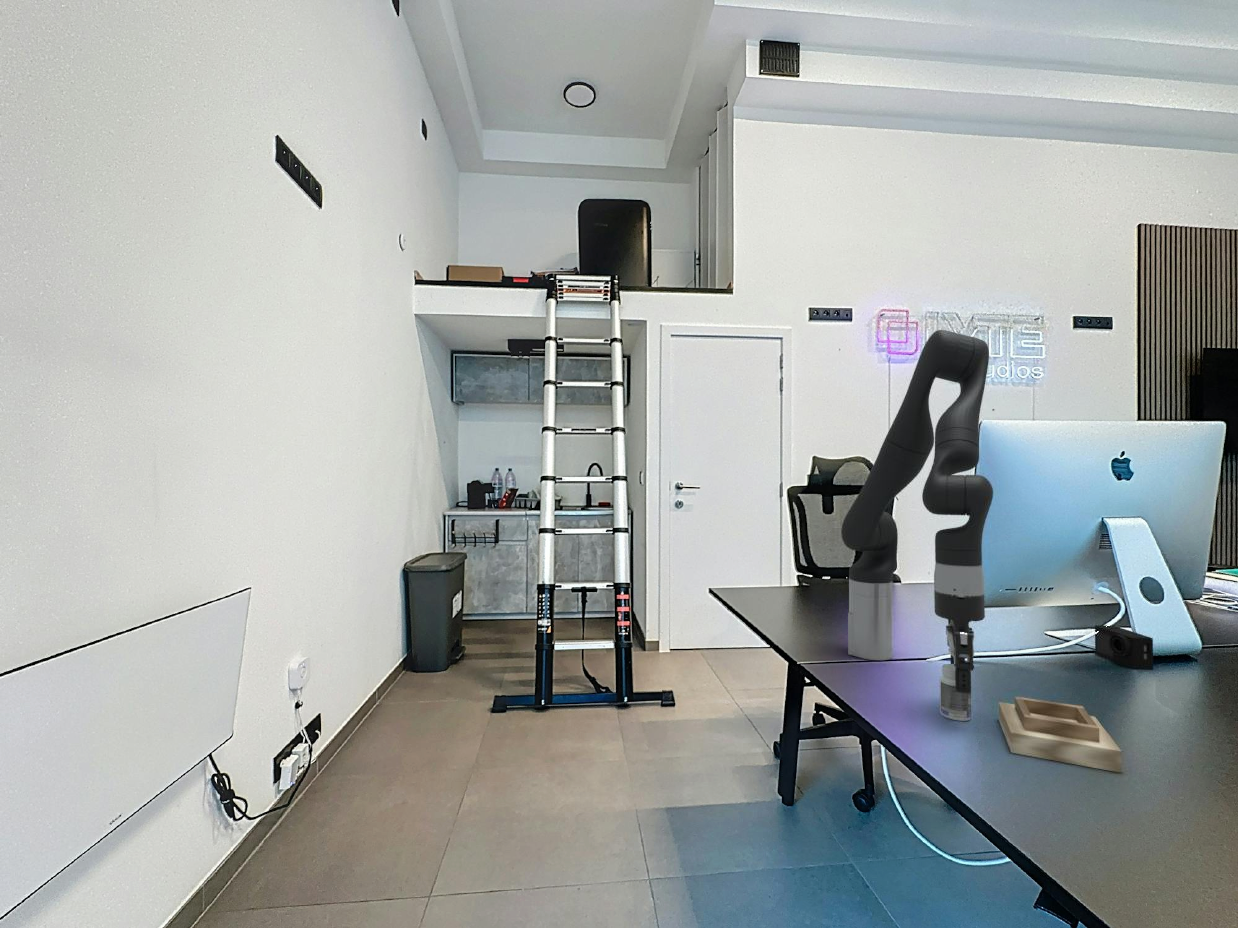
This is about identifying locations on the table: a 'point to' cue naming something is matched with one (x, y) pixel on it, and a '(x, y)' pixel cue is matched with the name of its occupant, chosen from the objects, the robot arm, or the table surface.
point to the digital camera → (1124, 647)
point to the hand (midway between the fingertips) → (960, 683)
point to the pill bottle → (953, 697)
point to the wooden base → (1058, 734)
